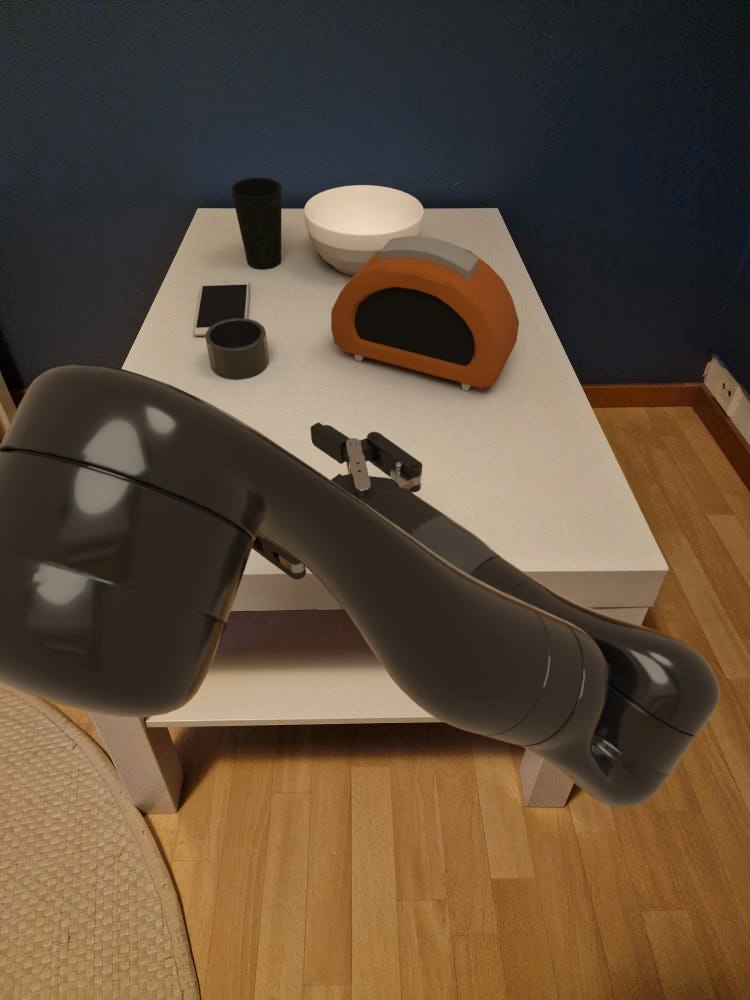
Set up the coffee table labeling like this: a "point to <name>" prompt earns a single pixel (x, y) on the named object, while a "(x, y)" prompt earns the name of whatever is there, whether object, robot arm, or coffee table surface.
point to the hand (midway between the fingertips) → (275, 456)
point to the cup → (259, 220)
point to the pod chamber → (237, 348)
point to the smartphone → (221, 303)
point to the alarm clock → (428, 312)
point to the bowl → (359, 223)
